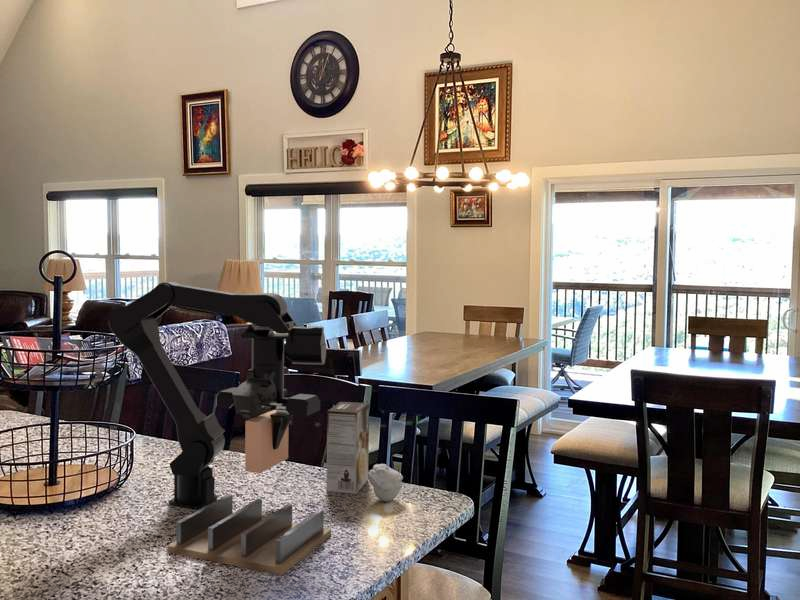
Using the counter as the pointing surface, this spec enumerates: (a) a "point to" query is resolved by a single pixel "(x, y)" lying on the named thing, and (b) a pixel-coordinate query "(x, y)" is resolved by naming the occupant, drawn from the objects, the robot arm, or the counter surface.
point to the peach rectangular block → (263, 444)
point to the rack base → (257, 560)
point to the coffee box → (347, 447)
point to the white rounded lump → (385, 482)
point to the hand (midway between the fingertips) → (267, 448)
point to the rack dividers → (231, 525)
